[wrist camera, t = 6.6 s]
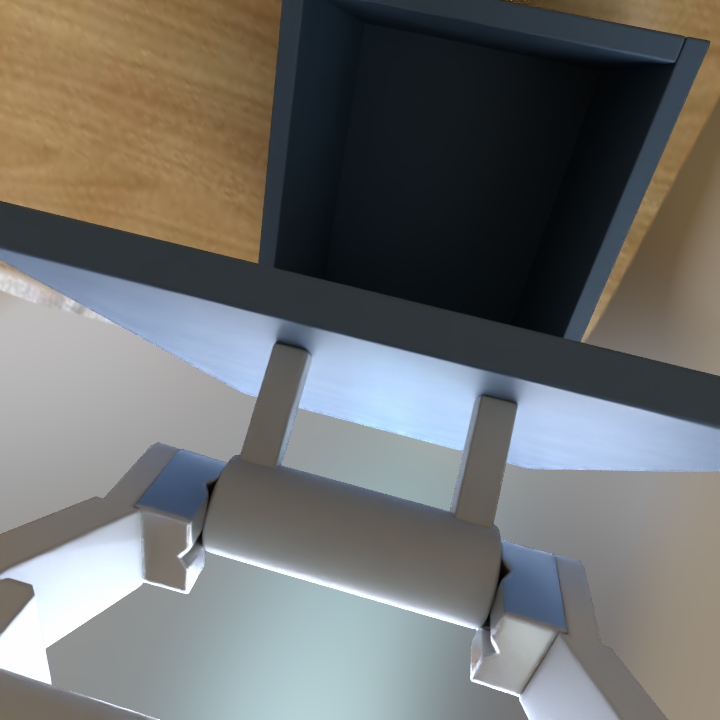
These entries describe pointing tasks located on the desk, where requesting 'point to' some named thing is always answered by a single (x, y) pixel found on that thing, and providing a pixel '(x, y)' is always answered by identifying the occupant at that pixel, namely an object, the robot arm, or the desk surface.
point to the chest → (466, 151)
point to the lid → (373, 406)
